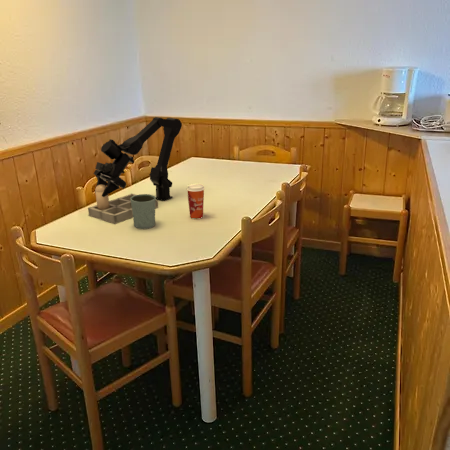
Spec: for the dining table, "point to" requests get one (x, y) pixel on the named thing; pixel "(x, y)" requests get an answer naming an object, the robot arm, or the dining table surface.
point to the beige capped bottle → (101, 198)
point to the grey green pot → (143, 210)
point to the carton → (115, 210)
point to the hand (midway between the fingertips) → (99, 194)
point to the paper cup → (195, 200)
